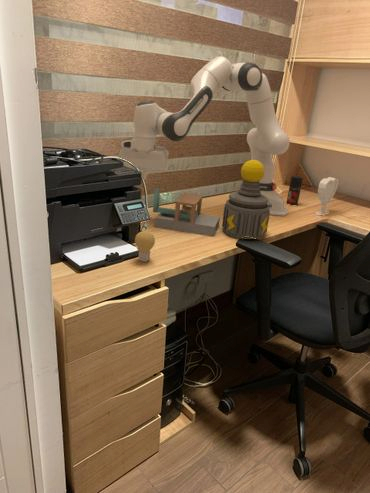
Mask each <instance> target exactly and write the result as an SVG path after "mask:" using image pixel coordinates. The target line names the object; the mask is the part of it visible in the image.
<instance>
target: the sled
mask: <svg viewBox="0 0 370 493" xmlns="http://www.w3.org/2000/svg"><path fill="white" fill-rule="evenodd" d="M160 192H161V189H160V188H157V187H156V188H153V200H152V201H153V205H152V212H153V213H158V214H160V213H166V214H172V215H175V208H168V207H161V206H160V197H161V196H160V194H161V193H160ZM197 215H198V211H197V210H196V212H195V218H196V217H197ZM179 218H184V219H190V218H191V214H186V213H183V209H182V208H181V209H180V212H179Z"/></svg>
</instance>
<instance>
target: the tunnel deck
mask: <svg viewBox="0 0 370 493" xmlns="http://www.w3.org/2000/svg"><path fill="white" fill-rule="evenodd" d="M202 202H203V195H198V194H192V193H187V192H186V193H183V194H182V195H181V196H180V197H178V199H176V201H175V207H174V209H175V215H172V214H166V213H158V215H156V216H155V219H154V221H155V222H154V227H155V228H160V229H165V230H171V231H178V232H182V233H183V232H185V233H191V234H196V235H197V234H198V235H203V236H210V237H214V236H215V234H216V232H217V231H218V228H219V227H220V222H221V221H220V220H221V217H220V216H217V215H211V214H205V213H202ZM185 206H189V207H191V218H190V219H184V218H179V212H180V210H182V209H183V208H184V207H185ZM196 211H198V215H197V217H196V218H195V212H196Z"/></svg>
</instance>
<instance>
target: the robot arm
mask: <svg viewBox="0 0 370 493" xmlns="http://www.w3.org/2000/svg"><path fill="white" fill-rule="evenodd" d="M221 89H223V90H225V91H227V92H235V93H236V92H239V93H240V92H244V93H245V96H246V98H245V99H246V103H247V109H248V112H249V117H250V121H251V122H252V123H253V125H254V126H255V127H253V128H251V129H250V130H249V131H248V133H247V135H246V142H247V144H248V146H249V150H250V158H251V159H250V160H257V161H259V162H260V163H262V165H263V166H264V170H265V172H264V176H263V178H262V179H261V180H260V181H259V182H260V185H259V186H260V190H259V191H260V192H261V194H262V195H264V196H266V197H267V198H268V203H267V204H268V205H269V206H270V208H269V210H270V215H271V216H281V217H282V216H283V217H284V216H285V217H286V216H287V215H288V212H289V211H288V208H286V207H285V201H284V198H283V196H281V195H280V194H279V193H278V192H277V187H278V186H277V184H276V183H275V182H273V181H274V180H273V179H274V176H275V174H274V173H275V169H276V168H275V166H276V165H275V164H274V162H273V159H272V158H273V157H272V156H273V155H275V156H276V155H279V156H280V155H283V154H285V153H286V152H287V151H288V149H289V146H290V137H289V136H288V135H287V133H286V132H285V131H284V129H283V128H282V126H281V124H280V122H279V119H278V117H277V114H276V111H275V110H276V109H275V105H274V100H273V94H272V90H271V86H270V83H269V80H268V78H267V75H266V74H265V73H263V72H262V70H261V68H260V67H259V65H257V64H256V63H253V62H236V63H231V61H230V60H229V59H228V58H227V57H225V56H216V57H215V58H213V59H211V60H210V61H209V62H207V63H206V64H205V65H204V66H203V67H202V68H201V69H199V70H198V71H197V72H196V74H195V75H194V76H193V77H192V79H191V80H190V91H191V93H192V95H193V96H192V98H191V99H190V100H189V101H188V103H186V105H185V106H184V107H183V108H182V109H181V110H180V111H177V112H170V111H167V110H165V109H164V108H162V107H160V106H159V105H158V104H157V102H156V101H154V100H153V101H152V100H147V101H146V100H144V101H139V102H138V103H137V104H136V105H135V109H134V115H133V126H134V127H133V128H134V131H133V135H132V136H133V137H132V138H131V139H128V140H124V141H122V142H121V143H120V145H121V147H122V148H120V150H119V154H118V159H119V158H122V159H125V160H127V161H129V162H131V163H132V164H133V165H134V166H135V167H134V168H138V169H139V170H140V171H141V170H142V169H144V172H145V173H142V172H141V174H142V179H141V180H147V177H148V174H149V173H150V170H154V171H162V172H164V171H166V170H167V169H169V157H170V151H169V149H168V148H167V147H165V146H159V145H156V140H157V139H156V137H157V135H158V136H161V137H163V138H167V139H169V140H170V141H171V142H179V141H180V142H181V141H182V140H183V139H185V138H186V137H187V135H188V133H189V131H190V129H191V128H192V125H193V124H194V122H195V121H196V120H197V118H198V117H200V115H201V114H202V113H203V112H204V110H206V108H207V107H208V106H209V105H210V103H211V101H212V99H213V97H214V96H215V95H216V94H217V93H218V92H219V91H220V90H221ZM270 215H269V216H270Z"/></svg>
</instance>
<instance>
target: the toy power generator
mask: <svg viewBox="0 0 370 493" xmlns="http://www.w3.org/2000/svg"><path fill="white" fill-rule="evenodd" d="M264 172H265V170H264V166H263V165H262V163H260V162H259V161H257V160H252V159H250V160H247V161H246V162H244V163H243V165H242V166H241V169H240V176H241V178H242V183H241V184H240V188H239V189H238V190H236V191H234V192H231V193H229V196H228V199H227V200H226V201H225V205H224V207H223V214H222V215H223V216H222V224H221V227H222V231H223V232H224V234H226V235H227V236H229V237H231V238H235V239H237V238H238V239H239V240H241V239H240V238H242V237H245V236H249V237H253V238H256V239H257V240H260V239H262V238H264V237H265V235H266V233H267V231H268V226H269V221H270V220H269V219H270V210H269V208H270V206H269V205H268V204H267V203H268V198H267V197H266V196H264V195H262V194H261V192H260V191H259V190H260V186H259V185H260V182H259V181H260V180H261V179H262V178H263V176H264ZM238 239H237V240H238Z"/></svg>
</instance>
